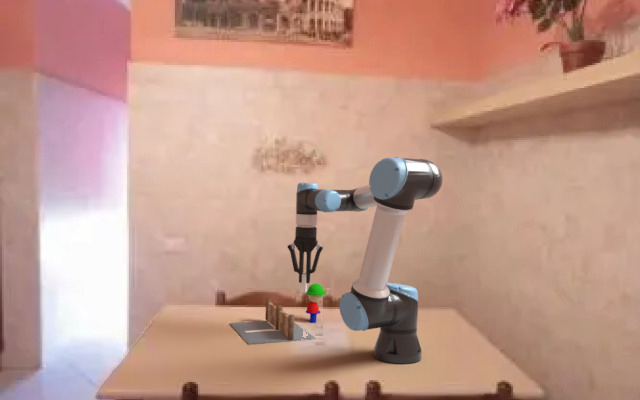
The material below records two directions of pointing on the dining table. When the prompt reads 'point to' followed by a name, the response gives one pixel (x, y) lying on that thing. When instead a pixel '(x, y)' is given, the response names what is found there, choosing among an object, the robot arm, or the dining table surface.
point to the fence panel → (286, 324)
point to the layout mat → (265, 332)
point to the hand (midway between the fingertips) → (304, 291)
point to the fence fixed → (273, 313)
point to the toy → (314, 300)
